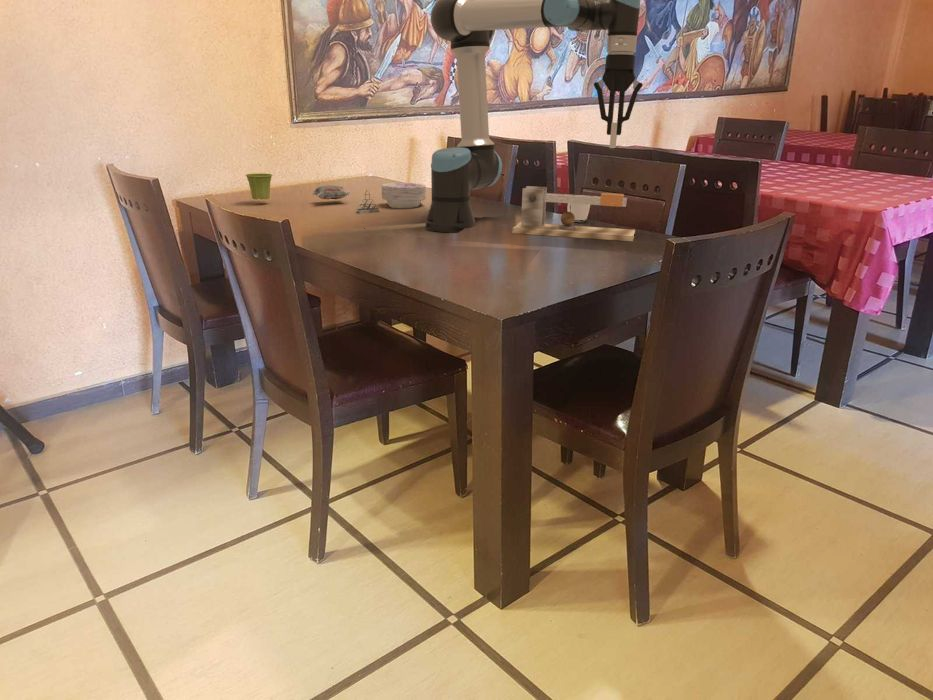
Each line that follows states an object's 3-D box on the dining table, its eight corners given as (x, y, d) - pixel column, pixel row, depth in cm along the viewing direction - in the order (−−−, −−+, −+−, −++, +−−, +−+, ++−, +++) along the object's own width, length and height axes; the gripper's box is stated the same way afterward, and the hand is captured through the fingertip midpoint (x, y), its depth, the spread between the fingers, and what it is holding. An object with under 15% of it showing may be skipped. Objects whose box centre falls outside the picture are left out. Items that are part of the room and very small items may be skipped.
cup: (576, 224, 214) (578, 198, 211) (558, 219, 223) (559, 194, 220) (594, 223, 217) (596, 197, 214) (576, 218, 225) (578, 193, 223)
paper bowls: (419, 203, 250) (419, 181, 248) (430, 210, 237) (430, 186, 234) (378, 205, 246) (377, 182, 243) (387, 211, 232) (386, 187, 230)
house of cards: (380, 209, 239) (379, 186, 236) (384, 213, 231) (384, 190, 228) (354, 210, 236) (353, 187, 233) (357, 214, 228) (356, 190, 226)
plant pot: (265, 196, 261) (262, 172, 258) (279, 198, 256) (277, 174, 253) (242, 198, 255) (240, 174, 252) (257, 201, 249) (254, 176, 246)
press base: (512, 233, 200) (514, 189, 195) (519, 227, 209) (521, 185, 204) (632, 241, 191) (637, 195, 187) (634, 234, 200) (639, 191, 196)
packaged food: (349, 200, 252) (349, 186, 251) (317, 201, 248) (316, 187, 246) (343, 197, 260) (343, 184, 258) (312, 198, 255) (311, 185, 254)
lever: (527, 202, 198) (528, 190, 197) (530, 200, 202) (531, 188, 201) (625, 208, 192) (626, 196, 190) (626, 206, 195) (627, 194, 194)
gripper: (594, 53, 179) (587, 147, 187) (645, 53, 176) (636, 149, 184) (597, 54, 186) (590, 146, 194) (646, 55, 183) (637, 147, 191)
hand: (612, 147), depth 189 cm, fingers closed
